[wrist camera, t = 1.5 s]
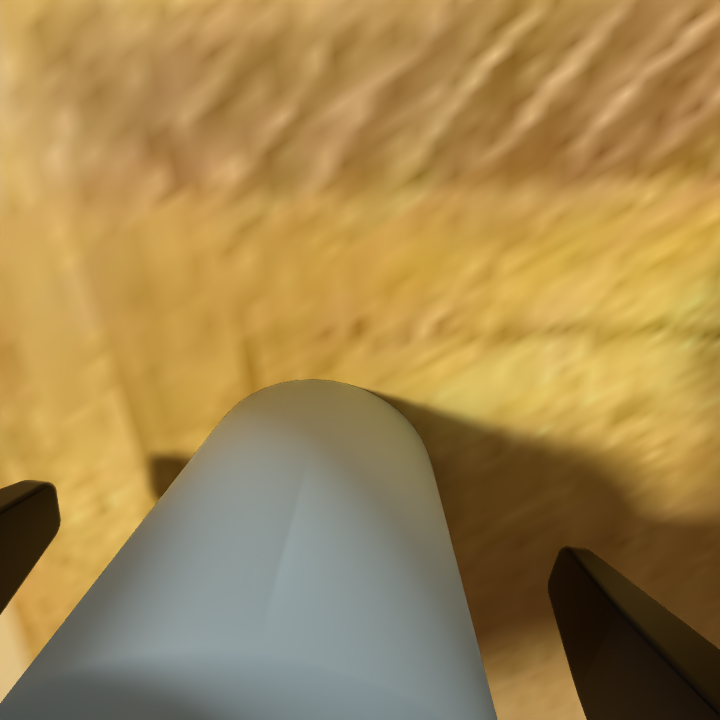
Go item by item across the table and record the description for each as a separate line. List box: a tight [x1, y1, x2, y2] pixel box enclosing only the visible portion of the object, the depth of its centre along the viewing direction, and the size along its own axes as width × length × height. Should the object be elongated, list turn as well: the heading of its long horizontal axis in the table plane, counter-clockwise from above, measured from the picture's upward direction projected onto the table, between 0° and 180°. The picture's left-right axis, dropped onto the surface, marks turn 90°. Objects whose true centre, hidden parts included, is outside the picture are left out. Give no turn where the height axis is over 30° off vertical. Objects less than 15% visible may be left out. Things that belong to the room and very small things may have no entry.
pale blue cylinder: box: [0, 379, 497, 720], centre depth 6 cm, size 5×5×5 cm
